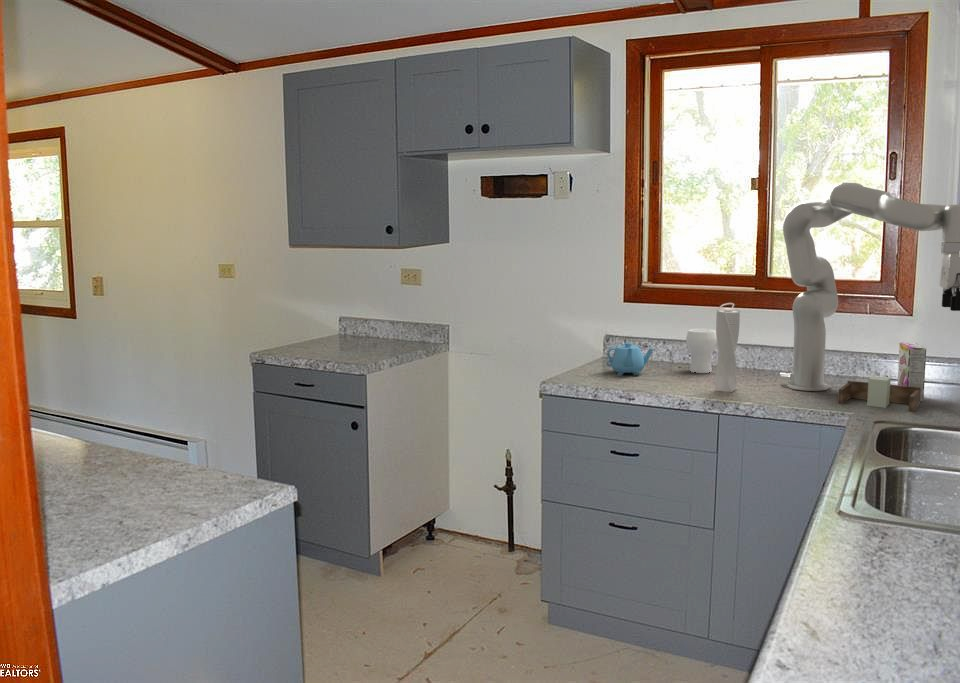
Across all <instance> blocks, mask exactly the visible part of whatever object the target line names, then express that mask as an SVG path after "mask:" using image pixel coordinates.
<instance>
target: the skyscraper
mask: <svg viewBox="0 0 960 683" xmlns="http://www.w3.org/2000/svg"><path fill="white" fill-rule="evenodd" d="M729 305H732V306H731V308H730V307H729V308H724V306H729ZM722 307H723V309H722V310H720V309H721V308H722ZM734 307H735V303H733V302H726V303H723V304H721V305H719V306H718V308H717V309H716V319H715V320H716V321H715V332H716V339H717V344H716V346H717V351H718V353H717V362H716V371H715V387H714V391H715V392H716V391H717V392H726V393H732V392H734V391H735V390H737V388H738V386H737V385H738V384H737V381H738V380H737V360H736V358H737V357H736V350H737V346H738V341H739V336H740V334H739V333H740V322H741V321H740V317H741V316H740V315H741V314H740V309H734Z"/></svg>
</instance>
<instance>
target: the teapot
mask: <svg viewBox="0 0 960 683" xmlns="http://www.w3.org/2000/svg"><path fill="white" fill-rule="evenodd" d="M632 344H633V343H632V342H627V341H626V342H624V344H623V345H617V346H616V347H611V348H609V349H607V352H606V354H607V358H608V360H607V361H606V366H607V367H612V368H611V369H613V371H615V372H616V373H617V372H618V373H617V374H618V375H617V376H619V375H622V376H624V375H625V373H632V375H633V374H634V375H638V374H639V373H640V372H642V371H643V370H644V369H645V366H646V365H647V362H648V361H649V359H650V357H651V355H652V353H653V351H654V348H649V349H648V350H647V351H646V352H645V354H644V355H643V352H642V350H641V348H640V347H639V346H637V345H632ZM611 351H614V352H613V355H612V357H611V353H610V352H611ZM623 374H624V375H623ZM634 375H633V376H634Z"/></svg>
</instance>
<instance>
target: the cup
mask: <svg viewBox="0 0 960 683" xmlns="http://www.w3.org/2000/svg"><path fill="white" fill-rule="evenodd" d="M685 340H686V341H685V342H686V346H687V350H688V351H689V353H690V361H691V362H690V367H689V372H690V371H691V373H694V372H696V373H695V374H708V373H709V372H710V373H712V371H713V369H712V363H711V362H712V355H713V353H714V351H715V350H716V346H717V339H716V329H709V328H691V329H688V330H687V333H686V338H685ZM710 373H709V374H710Z"/></svg>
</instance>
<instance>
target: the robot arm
mask: <svg viewBox="0 0 960 683" xmlns="http://www.w3.org/2000/svg"><path fill="white" fill-rule="evenodd" d="M853 214H855V215H858V216H862V217H865V218H870V219H873V220H876V221H879V222H883V223H887V224H889V225H890V224H891V225H894V226H897V227H902V228H905V229H909V230H913V231H918V232H925V231H927V232H929V231H939V230H942V232H941V248H940V254H941V255H942V254H943V256H942V261H941V268H940V276H939V286H940V287H941V288H942V295H941V296H942V297H941V298H942V299H941V307H943V308H949V310H950V311H951V312H952V311H953V312H960V257H959V251H960V204H949V205H945V204H944V205H941V204H933V203H931V204H930V203H928V204H927V203H918V202H914V201H911V200H906V199H902V198H898V197H895V196H893V195H891V193H890V192H887V191H885V190H880V189H875V188H871V187H866V186H864V185H862V184H860V183H857V182H840V183H837V184H835V185H834V186H832V188H831V189H830V191H829V193H828V196H827V197H826V198H824V199H822V200H805V201H801V202H799V203H797V204H795V205H794V206H792V207H791V208H790V209H789V210H788V211H787V213H786V214H785V216H784V219H783V222H782V234H783V238H784V242H785V243H784V244H785V247H786V248H785V249H786V255H787V260H788V266H789V271H790V276H791V280H792V281H793V283H794V284H795V285H796V286H798V287H803V288H804V287H805V288H806V291H803V292H801V293H800V294H798V295H797V296H796V297H795V298H794V300H793V303H792V318H793V327H794V328H793V352H792V353H793V355H792V356H793V357H792V359H793V360H792V372H789V373H786V372H780V373H779V379H780V380H783V381H784V380H788V382H787V383H786V387H787V388H789V389H791V390H792V389H793V390H796V391H803V392H804V391H806V392H812V391H813V392H820V391H822V392H823V391H827V390H829V389H830V388H829V384H828V383H825V380H824V379H825V378H824V377H825V362H826V359H825V358H826V338H827V337H826V335H827V334H826V332H827V331H826V324H825V318H829V317H831V316H832V315H834V314H835V313H836V311H837V309H838V307H839V296H838V290H837V284H836V279H835V274H834V269H833V267H832V265H831V263H830V262H829V260H827V259H826V258H824V257H822V256H818V255H817V252H816V245H815V241H814V239H813V236H812V234H811V231H810V230H811V229H814V228H825V227H828V226H831V225H833V224H835V223H836V222H838V221H841V220H842V219H845V218H846V217H848V216H851V215H853Z"/></svg>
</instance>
